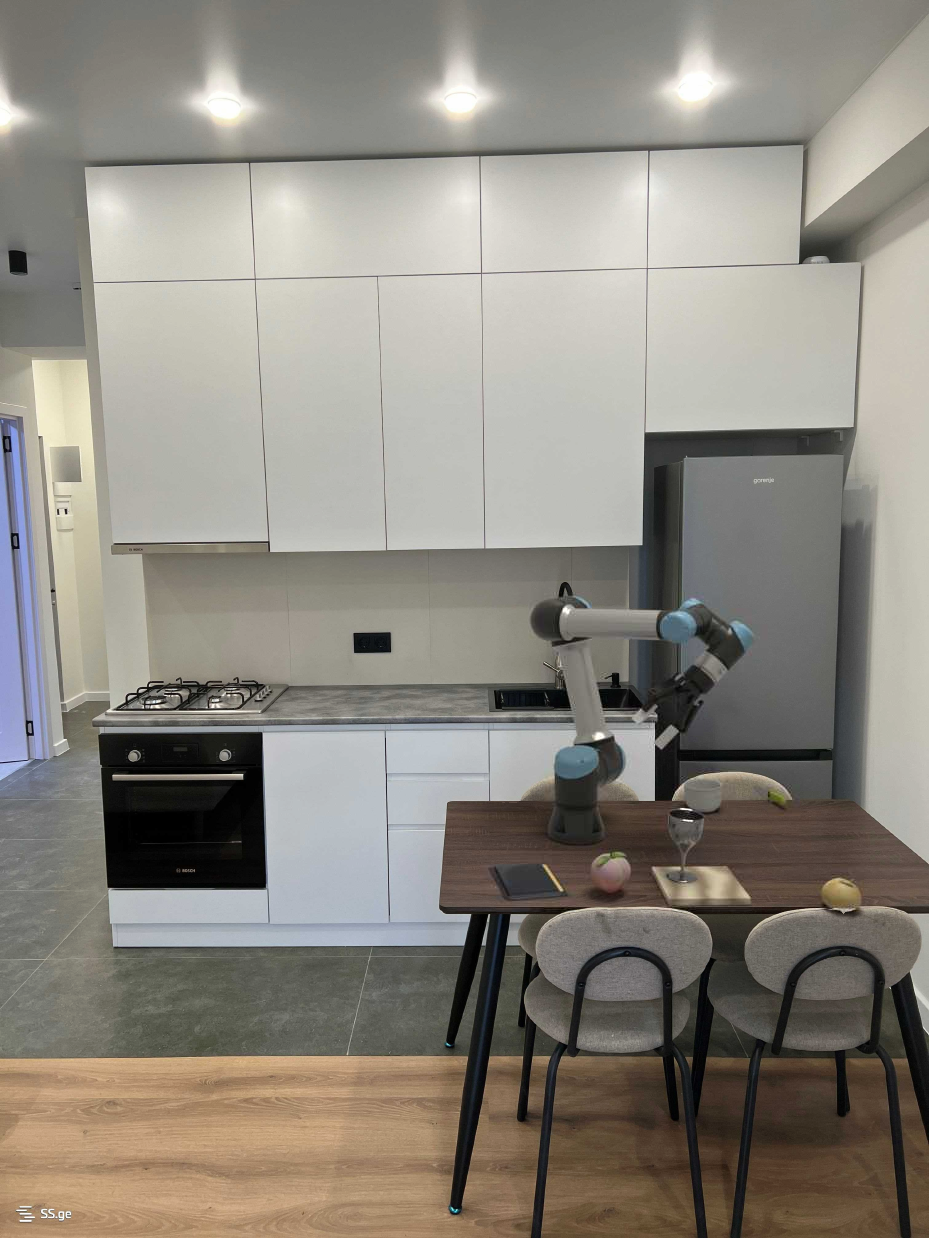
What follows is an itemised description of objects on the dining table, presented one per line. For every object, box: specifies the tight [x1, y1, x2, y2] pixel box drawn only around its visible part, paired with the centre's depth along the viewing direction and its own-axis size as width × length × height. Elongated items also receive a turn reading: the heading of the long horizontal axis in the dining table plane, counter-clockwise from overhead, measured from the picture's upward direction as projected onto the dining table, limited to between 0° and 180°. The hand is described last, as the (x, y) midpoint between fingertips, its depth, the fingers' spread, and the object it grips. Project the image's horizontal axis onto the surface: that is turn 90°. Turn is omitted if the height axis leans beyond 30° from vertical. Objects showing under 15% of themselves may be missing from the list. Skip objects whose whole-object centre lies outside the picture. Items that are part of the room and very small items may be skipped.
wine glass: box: [666, 808, 705, 883], centre depth 202 cm, size 8×8×15 cm
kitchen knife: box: [752, 784, 787, 805], centre depth 264 cm, size 22×1×3 cm, turn 6°
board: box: [651, 865, 752, 907], centre depth 200 cm, size 18×18×2 cm
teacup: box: [683, 776, 723, 813], centre depth 256 cm, size 14×11×8 cm
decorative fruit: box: [590, 850, 632, 894], centre depth 198 cm, size 9×8×10 cm
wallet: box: [488, 862, 569, 902], centre depth 205 cm, size 20×2×15 cm
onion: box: [820, 877, 862, 909], centre depth 189 cm, size 8×8×7 cm
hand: (646, 734), depth 219 cm, fingers open, 13 cm apart
